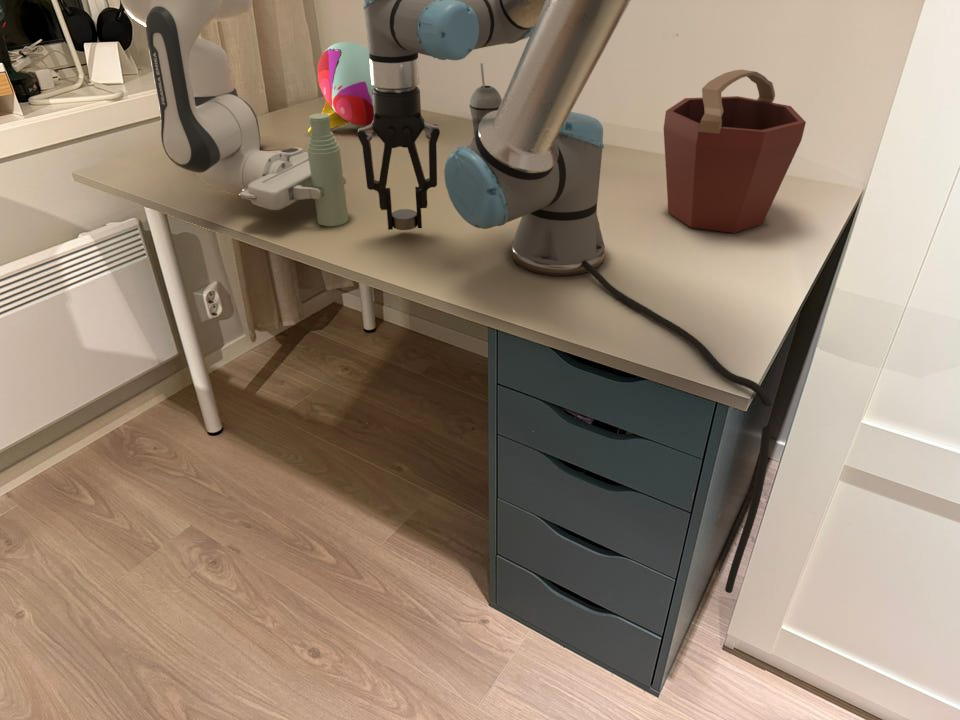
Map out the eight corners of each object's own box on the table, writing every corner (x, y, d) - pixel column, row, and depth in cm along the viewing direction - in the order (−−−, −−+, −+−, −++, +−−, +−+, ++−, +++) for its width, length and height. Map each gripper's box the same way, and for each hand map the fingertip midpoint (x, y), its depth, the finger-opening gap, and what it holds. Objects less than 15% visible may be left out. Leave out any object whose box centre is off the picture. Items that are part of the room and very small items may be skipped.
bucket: (710, 250, 119) (740, 96, 105) (622, 208, 134) (638, 69, 120) (804, 218, 129) (843, 75, 115) (713, 183, 145) (736, 53, 131)
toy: (277, 110, 181) (275, 51, 163) (352, 72, 191) (358, 13, 173) (336, 175, 178) (341, 122, 160) (410, 134, 188) (421, 79, 170)
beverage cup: (489, 165, 155) (489, 69, 144) (463, 159, 159) (461, 64, 148) (508, 156, 160) (510, 63, 149) (483, 150, 164) (482, 59, 152)
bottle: (347, 213, 134) (335, 110, 123) (348, 224, 129) (336, 119, 118) (317, 215, 133) (302, 112, 122) (318, 227, 128) (302, 121, 118)
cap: (390, 230, 122) (390, 218, 121) (394, 219, 125) (393, 208, 124) (416, 230, 122) (415, 219, 120) (418, 220, 125) (418, 209, 124)
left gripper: (229, 177, 122) (294, 189, 117) (301, 144, 138) (361, 153, 133) (237, 212, 126) (300, 224, 121) (306, 176, 141) (364, 185, 136)
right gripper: (449, 79, 114) (453, 215, 127) (341, 82, 113) (356, 219, 126) (452, 91, 108) (456, 232, 121) (337, 94, 107) (354, 236, 120)
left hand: (332, 187), depth 127 cm, fingers closed on bottle, 5 cm apart
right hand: (405, 225), depth 124 cm, fingers closed on cap, 4 cm apart
